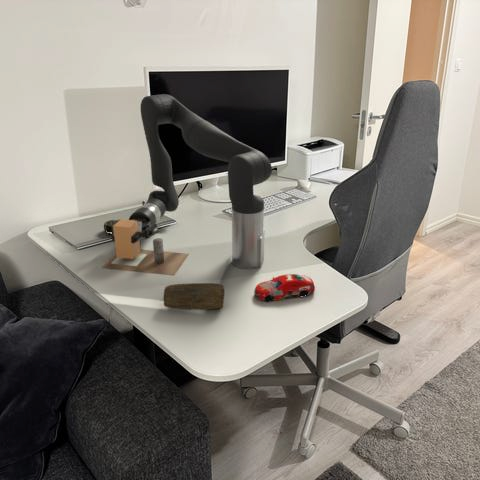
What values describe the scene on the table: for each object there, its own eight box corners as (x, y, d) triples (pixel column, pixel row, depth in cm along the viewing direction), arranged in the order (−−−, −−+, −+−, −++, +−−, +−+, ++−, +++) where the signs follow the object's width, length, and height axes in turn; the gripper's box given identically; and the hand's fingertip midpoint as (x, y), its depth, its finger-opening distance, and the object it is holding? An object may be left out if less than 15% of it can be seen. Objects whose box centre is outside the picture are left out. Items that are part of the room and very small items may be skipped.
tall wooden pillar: (140, 251, 138) (137, 220, 134) (133, 258, 134) (130, 227, 130) (124, 249, 139) (120, 219, 135) (116, 257, 135) (112, 226, 131)
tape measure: (125, 235, 158) (124, 225, 156) (105, 237, 156) (103, 227, 154) (124, 227, 164) (123, 218, 162) (104, 230, 162) (102, 220, 160)
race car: (257, 305, 117) (258, 288, 115) (251, 292, 123) (251, 276, 121) (317, 297, 121) (318, 280, 119) (308, 284, 127) (309, 268, 125)
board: (189, 258, 141) (188, 232, 138) (174, 280, 129) (172, 252, 125) (122, 251, 145) (119, 227, 142) (102, 272, 133) (98, 245, 129)
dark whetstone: (224, 299, 120) (224, 276, 117) (224, 314, 113) (224, 290, 110) (166, 300, 119) (165, 277, 116) (163, 315, 113) (161, 291, 110)
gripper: (123, 205, 147) (98, 225, 131) (166, 208, 144) (145, 229, 129) (125, 227, 150) (101, 249, 135) (167, 230, 147) (147, 253, 132)
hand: (123, 239), depth 132 cm, fingers closed on tall wooden pillar, 5 cm apart
